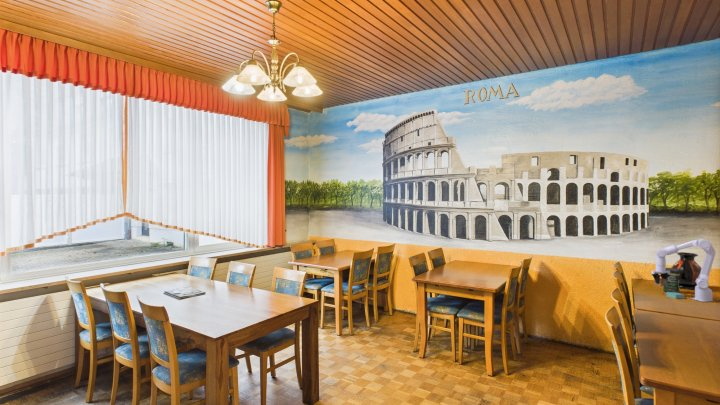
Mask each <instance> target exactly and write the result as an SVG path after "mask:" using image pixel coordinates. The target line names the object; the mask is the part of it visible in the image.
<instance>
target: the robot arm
mask: <svg viewBox="0 0 720 405" xmlns="http://www.w3.org/2000/svg"><path fill="white" fill-rule="evenodd" d="M712 244H713V243H711V242H710V241H709V240H707V239H706V238H698V239H694V240H690V241H687V242H684V243H682V244H678V245H674V244H673V245H672V244H669V246H667V247H662V248H660V249H659V248H658V249H657V250H656V251H655V254H656V256H655V257H656V258H655V270H651V271H650V274H651V276H652V277H653V279H655V283H657V284H659V279H660V278H662V279H666V280H667V278H668V276H669V274H670V271H666V268H667V267H666V265H667V261H666V260H667V259H666V256H669V255H673V254H677V253H679V251H680V250H684V249H687V248H691V247H695V248H698V247H699V248H701V249H702V250H703V251H704V252H705V256H704V259H703V262H702V266H701V268H702V269H701V272H700V275H699V277H698V278H697V279H696V284H697V286H695V290H694V297H691V300H694V301H699V302H701V303H703V302H714V300H713V290H712V289H711V288H709V286H710V285H709V284H710V283H709V277H710V273H711V271H712V270H711V269H712V266H713V263H714V260H715V257H716V254H717V252H716V250H715V248H714V247H713V245H712ZM667 273H668V274H667Z"/></svg>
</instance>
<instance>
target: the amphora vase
mask: <svg viewBox="0 0 720 405" xmlns="http://www.w3.org/2000/svg"><path fill="white" fill-rule="evenodd" d="M676 254H677V255H678V256H679V260H677V261H676V262H675V263H673V264H672V265H671V267H670V268H675V269H679V271H680V276H679V289H683V290H690V291H691V290H693V291H695V286H697V284H696V279H697V278H698V277H699V275H700V272H701V269H702V266H700V264H698V263H697V261H696V260H695V258H696V257H698V256H699V254H698V253H693V252H684V251H683V252H682V251H681V252H679V251H678V252H677V253H676Z"/></svg>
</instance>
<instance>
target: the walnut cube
mask: <svg viewBox="0 0 720 405" xmlns="http://www.w3.org/2000/svg"><path fill="white" fill-rule="evenodd" d="M653 279H654V278H653ZM653 285H654V286H658V287H664V286H666V279H662V278H661V277H660V279H659V284H657V283H655V279H654V283H653Z"/></svg>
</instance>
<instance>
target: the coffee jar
mask: <svg viewBox="0 0 720 405" xmlns="http://www.w3.org/2000/svg"><path fill="white" fill-rule="evenodd" d="M666 271H670V274H669V276H668V278H667V280H666V286H662V287H663V291H664V292H676V293H680V288H679V276H680V271H679V269H675V268H671V267H666ZM667 274H668V273H667Z"/></svg>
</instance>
